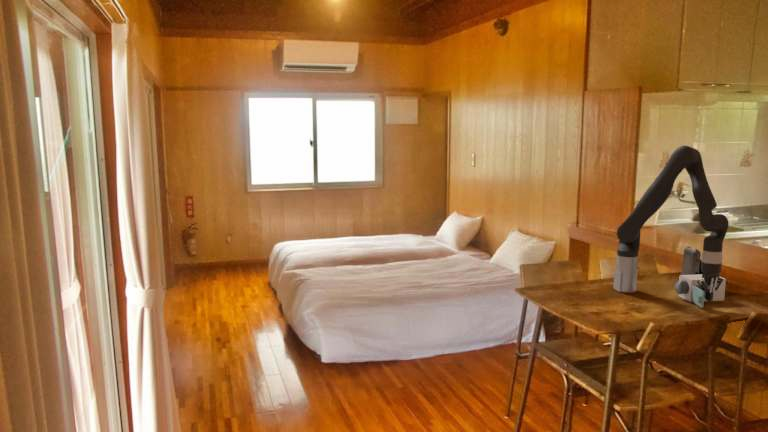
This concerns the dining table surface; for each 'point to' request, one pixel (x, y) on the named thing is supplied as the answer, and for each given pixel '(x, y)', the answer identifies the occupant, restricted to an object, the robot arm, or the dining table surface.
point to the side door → (697, 296)
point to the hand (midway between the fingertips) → (708, 300)
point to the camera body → (687, 281)
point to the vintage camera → (691, 262)
